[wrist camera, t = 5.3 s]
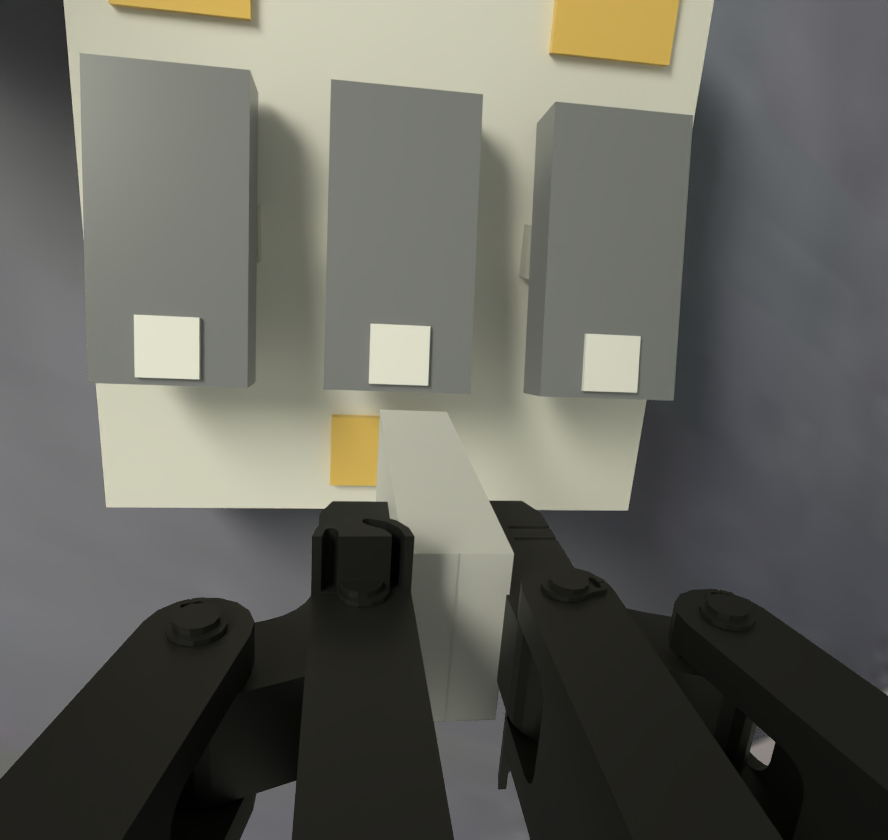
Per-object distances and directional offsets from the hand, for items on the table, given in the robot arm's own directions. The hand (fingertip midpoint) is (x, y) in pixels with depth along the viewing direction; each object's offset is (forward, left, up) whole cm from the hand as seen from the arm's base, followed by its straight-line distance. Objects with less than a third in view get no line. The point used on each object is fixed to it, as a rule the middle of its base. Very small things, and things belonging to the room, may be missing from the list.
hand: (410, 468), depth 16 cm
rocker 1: (-4, -6, -5) cm, 9 cm away
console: (-4, 0, -13) cm, 14 cm away
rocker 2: (-4, 0, -5) cm, 7 cm away
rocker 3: (-4, +6, -5) cm, 9 cm away
